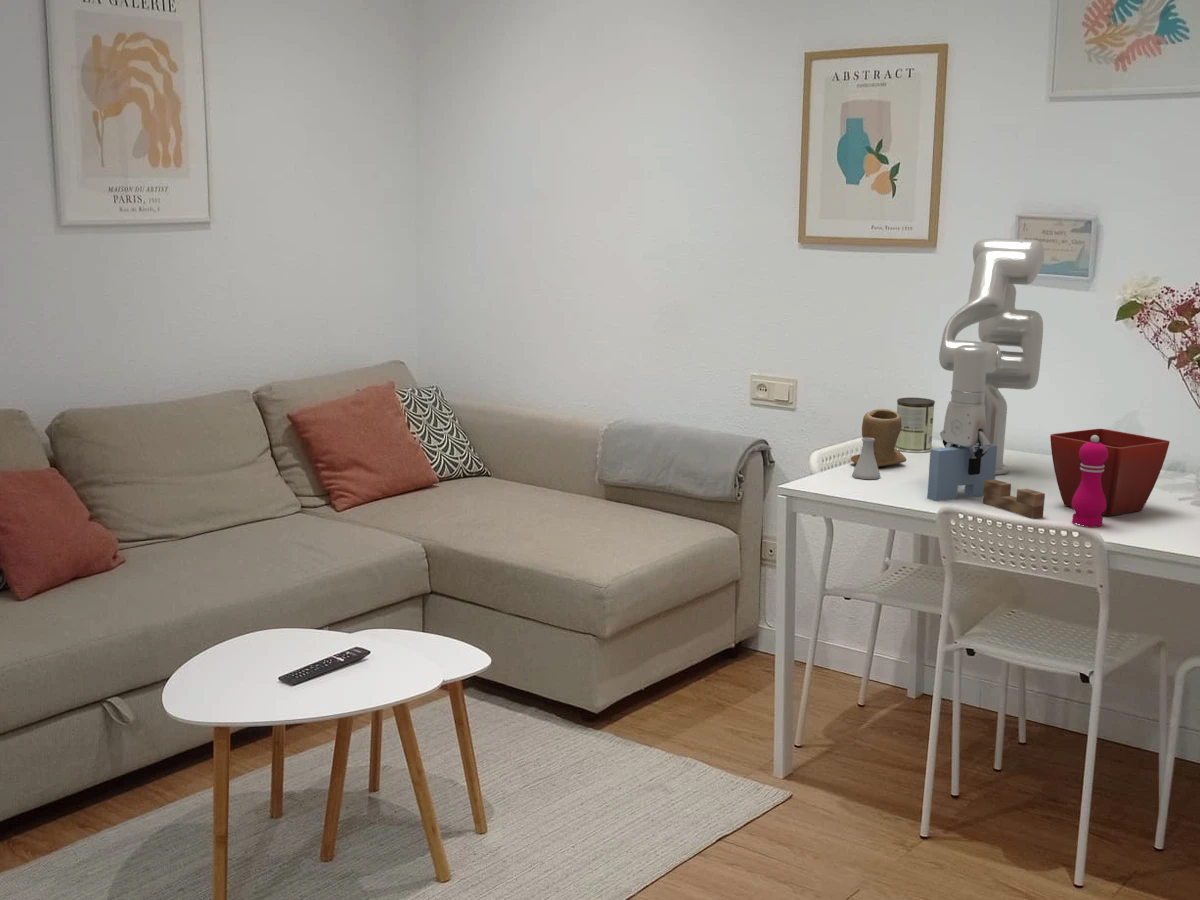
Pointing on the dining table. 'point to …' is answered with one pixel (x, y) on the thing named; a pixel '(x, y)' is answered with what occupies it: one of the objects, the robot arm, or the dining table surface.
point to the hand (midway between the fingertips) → (962, 470)
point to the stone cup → (882, 436)
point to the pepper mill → (1090, 485)
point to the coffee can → (915, 424)
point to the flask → (867, 462)
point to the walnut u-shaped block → (1013, 499)
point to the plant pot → (1111, 467)
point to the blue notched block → (958, 472)
